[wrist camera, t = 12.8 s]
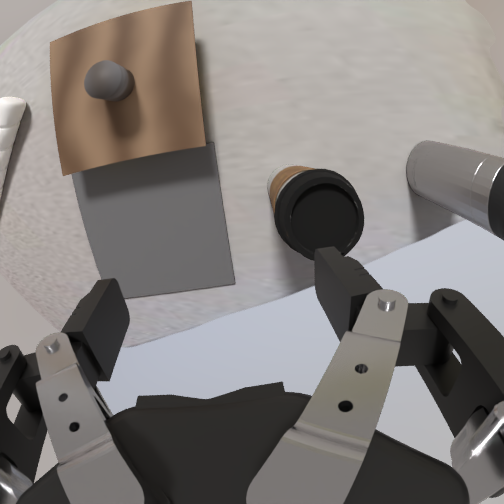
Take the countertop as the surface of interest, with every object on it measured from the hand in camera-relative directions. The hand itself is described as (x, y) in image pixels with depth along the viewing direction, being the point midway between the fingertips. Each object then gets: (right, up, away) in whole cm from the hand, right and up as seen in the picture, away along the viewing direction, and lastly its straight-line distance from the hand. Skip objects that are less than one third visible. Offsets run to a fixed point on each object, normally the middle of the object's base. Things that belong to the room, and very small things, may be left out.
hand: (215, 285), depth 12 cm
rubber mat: (-12, +4, +27) cm, 30 cm away
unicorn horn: (-37, +14, +21) cm, 45 cm away
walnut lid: (-13, +20, +16) cm, 29 cm away
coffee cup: (+6, +10, +27) cm, 30 cm away
